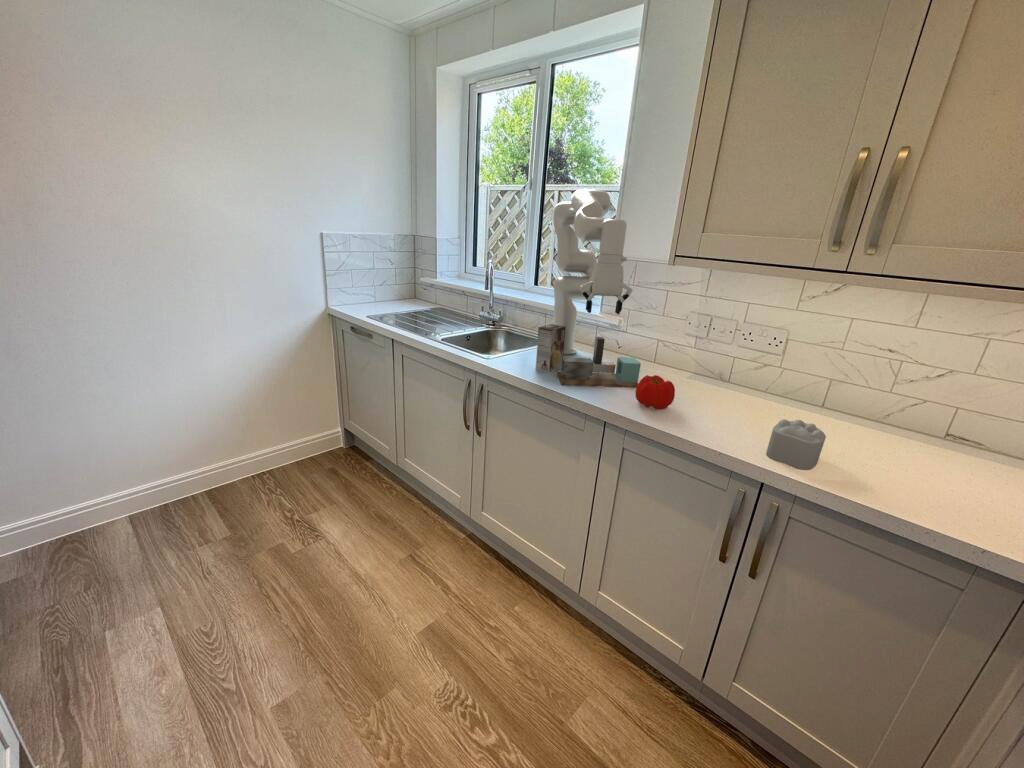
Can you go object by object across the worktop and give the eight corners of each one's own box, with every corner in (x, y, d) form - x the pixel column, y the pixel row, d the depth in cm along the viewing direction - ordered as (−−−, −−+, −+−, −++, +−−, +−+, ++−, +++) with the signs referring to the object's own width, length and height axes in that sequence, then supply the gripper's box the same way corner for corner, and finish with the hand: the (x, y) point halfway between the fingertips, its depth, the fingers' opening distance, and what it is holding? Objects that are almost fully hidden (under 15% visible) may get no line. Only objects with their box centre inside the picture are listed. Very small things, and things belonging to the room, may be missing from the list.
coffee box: (548, 364, 172) (551, 323, 167) (562, 368, 169) (566, 326, 164) (534, 369, 166) (538, 326, 160) (549, 373, 162) (553, 330, 157)
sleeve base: (561, 385, 150) (563, 364, 148) (556, 373, 162) (558, 354, 159) (639, 388, 152) (642, 367, 150) (629, 376, 164) (632, 357, 161)
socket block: (620, 382, 154) (623, 362, 152) (615, 375, 160) (617, 357, 158) (637, 382, 154) (640, 363, 152) (631, 376, 161) (634, 357, 159)
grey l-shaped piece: (569, 371, 154) (572, 337, 150) (567, 368, 157) (571, 335, 153) (614, 373, 155) (619, 339, 151) (612, 370, 158) (616, 337, 154)
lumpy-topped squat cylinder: (761, 455, 110) (770, 424, 107) (778, 441, 119) (787, 411, 116) (808, 473, 103) (819, 440, 100) (823, 456, 112) (834, 425, 109)
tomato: (627, 400, 141) (631, 373, 138) (660, 399, 144) (665, 372, 141) (644, 414, 131) (649, 385, 128) (680, 412, 134) (685, 384, 131)
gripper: (632, 260, 147) (625, 312, 153) (581, 257, 146) (575, 309, 152) (640, 262, 140) (631, 316, 146) (585, 259, 139) (579, 313, 145)
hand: (603, 312), depth 149 cm, fingers open, 9 cm apart
